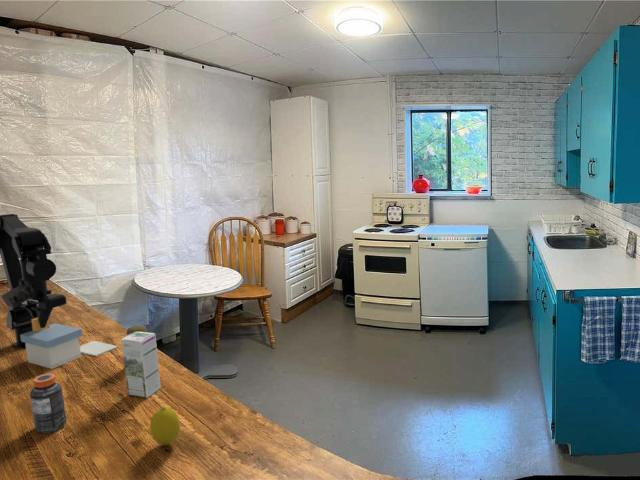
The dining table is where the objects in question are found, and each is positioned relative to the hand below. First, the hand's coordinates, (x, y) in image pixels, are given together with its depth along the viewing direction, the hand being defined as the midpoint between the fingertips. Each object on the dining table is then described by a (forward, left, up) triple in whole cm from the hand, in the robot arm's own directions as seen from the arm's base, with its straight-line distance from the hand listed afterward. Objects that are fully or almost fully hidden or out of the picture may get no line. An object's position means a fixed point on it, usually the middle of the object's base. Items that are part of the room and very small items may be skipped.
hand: (41, 327), depth 143 cm
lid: (+5, 0, -3) cm, 5 cm away
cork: (+30, +8, -9) cm, 33 cm away
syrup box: (+44, -3, -9) cm, 46 cm away
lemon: (+66, -17, -9) cm, 69 cm away
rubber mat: (+8, +10, -9) cm, 16 cm away
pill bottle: (+38, -23, -9) cm, 46 cm away
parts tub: (+4, 0, -9) cm, 10 cm away
